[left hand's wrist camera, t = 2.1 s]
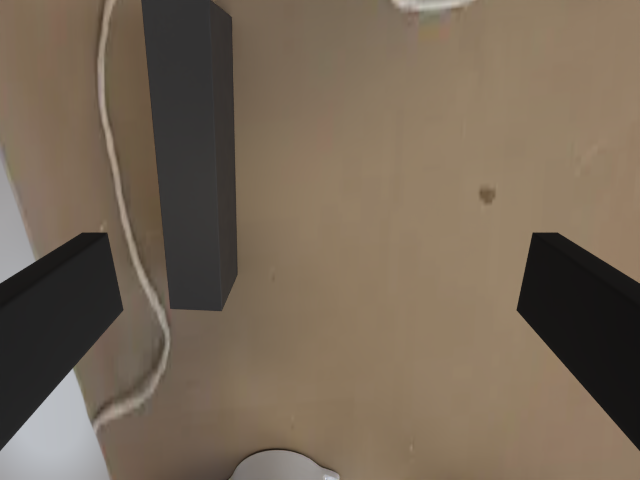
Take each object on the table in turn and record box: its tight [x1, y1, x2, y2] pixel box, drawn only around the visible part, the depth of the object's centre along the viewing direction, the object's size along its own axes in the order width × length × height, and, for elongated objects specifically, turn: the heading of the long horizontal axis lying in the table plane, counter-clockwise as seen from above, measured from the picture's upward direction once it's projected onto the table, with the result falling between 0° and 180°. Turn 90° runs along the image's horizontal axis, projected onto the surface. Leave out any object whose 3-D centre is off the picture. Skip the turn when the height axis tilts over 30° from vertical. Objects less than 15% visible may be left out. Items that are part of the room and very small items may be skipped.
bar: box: [141, 0, 237, 311], centre depth 39 cm, size 28×5×8 cm, turn 177°
